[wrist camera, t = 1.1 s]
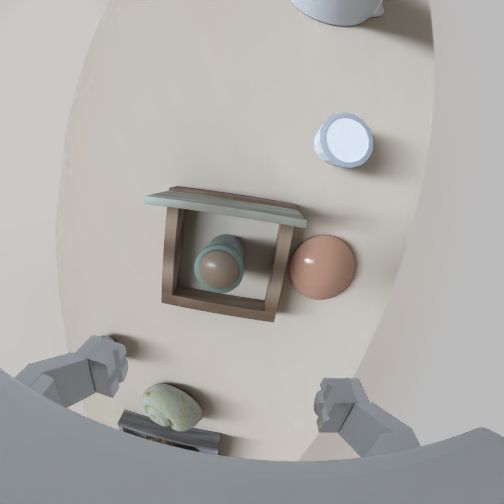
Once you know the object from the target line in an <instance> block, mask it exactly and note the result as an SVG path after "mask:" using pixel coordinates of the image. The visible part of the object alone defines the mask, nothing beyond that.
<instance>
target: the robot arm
mask: <svg viewBox="0 0 504 504" xmlns="http://www.w3.org/2000/svg"><path fill="white" fill-rule="evenodd" d="M291 1H292V3H293V4H294V5H295V6H296V7H297V8H298V9H299V10H301V11H302V12H303V13H305V14H307V15H308V16H310V17H312V18H314V19H316V20H319V21H322V22H325V23H328V24H333V25H339V26H351V25H357V24H360V23H362V22H364V21H365V20H367V19H368V18H370V17H378V16H382V15H383V13H384V7H383V4H382V1H383V0H291ZM125 354H126V347H125V346H124V345H123V344H120V343H117V342H114V341H111V340H108V339H105V338H102V337H99V336H96V335H93V336H91V337H90V338H89V339H88V340H87V341H86V342H85V343H84V344H83V345H82V346H81V347H80V348H79V349H78V350H77V351H76V352H75V354H74V353H68V354H65V355H61V356H58V357H54V358H50V359H47V360H43V361H39V362H35V363H32V364H28V365H27V366H26V367H25V368H24V369H23V370H22V371H21V372H20V373H19V374H18V375H17V376H16V377H15V378H13V377H12V376H10V375H9V374H8V373H6V372H5V371H3V370H2V369H0V504H504V437H502V436H500V435H499V434H497V433H495V432H493V431H491V430H489V429H486V428H477V429H474V430H472V431H469V432H466V433H464V434H461V435H458V436H455V437H452V438H449V439H446V440H443V441H440V442H436V443H432V444H429V445H425V446H420V444H419V442H418V440H417V438H416V436H415V434H414V432H413V430H412V428H410V427H409V426H407V425H406V424H404V423H403V422H401V421H400V420H398V419H396V418H395V417H394V416H392V415H391V414H389V413H387V412H386V411H385V410H383V409H382V408H380V407H379V406H377V405H376V404H374V403H370V402H369V400H368V397H367V395H366V393H365V391H364V389H363V387H362V384H361V382H360V380H359V379H358V378H324V379H323V380H322V382H321V384H320V386H321V390H320V391H318V392H317V394H316V397H315V401H314V411H315V414H316V415H318V416H319V417H318V419H317V425H318V430H319V432H338V434H339V435H340V436H341V437H342V438H343V439H344V440H345V441H346V442H347V443H348V444H349V445H350V446H351V447H352V448H353V449H354V450H355V451H356V452H357V453H358V454H359V455H360V456H361V457H362V458H354V459H343V460H329V461H268V460H254V459H244V458H235V457H227V456H220V455H213V454H208V453H202V452H197V451H192V450H187V449H182V448H178V447H174V446H170V445H166V444H162V443H158V442H154V441H151V440H147V439H144V438H141V437H138V436H134V435H131V434H128V433H125V432H123V431H120V430H117V429H114V428H112V427H109V426H106V425H104V424H101V423H99V422H96V421H94V420H92V419H89V418H87V417H85V416H82V415H80V414H78V413H76V412H73V411H72V410H70V409H67V407H69V406H71V405H73V404H75V403H77V402H79V401H81V400H83V399H85V398H87V397H88V396H90V395H92V394H94V393H95V392H97V393H100V394H103V395H106V396H109V397H112V398H113V397H114V395H115V394H116V392H117V391H118V389H119V384H118V383H120V382H123V381H124V379H125V377H126V374H127V371H128V362H127V360H126V359H125V357H124V356H125Z"/></svg>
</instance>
